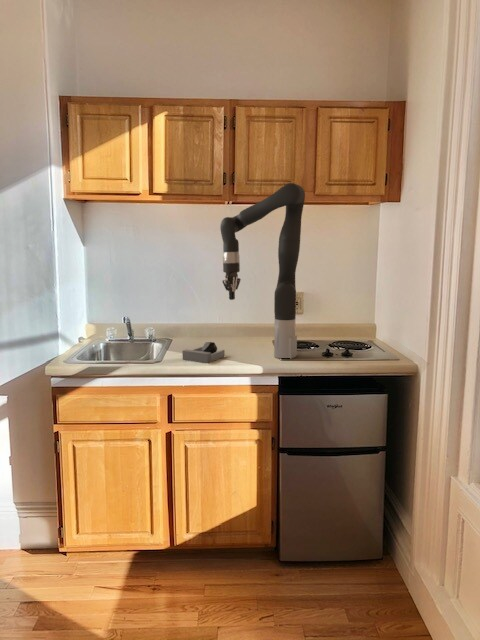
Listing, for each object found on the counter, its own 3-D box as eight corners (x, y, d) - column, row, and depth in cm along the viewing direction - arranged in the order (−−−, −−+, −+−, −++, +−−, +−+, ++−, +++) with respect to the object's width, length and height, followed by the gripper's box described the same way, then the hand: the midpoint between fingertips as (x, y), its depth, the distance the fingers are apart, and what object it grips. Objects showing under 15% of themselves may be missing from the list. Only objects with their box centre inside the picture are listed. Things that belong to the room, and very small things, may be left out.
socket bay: (224, 356, 228) (224, 347, 228) (207, 363, 216) (207, 354, 216) (200, 353, 235) (200, 344, 234) (182, 359, 223) (182, 350, 222)
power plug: (192, 357, 223) (205, 338, 230) (198, 368, 228) (211, 349, 235) (202, 358, 220) (215, 339, 227) (208, 370, 225) (221, 351, 232)
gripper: (230, 262, 224) (231, 301, 227) (245, 261, 236) (246, 298, 239) (216, 262, 228) (217, 300, 231) (231, 261, 239) (232, 297, 242)
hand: (232, 299), depth 235 cm, fingers closed
